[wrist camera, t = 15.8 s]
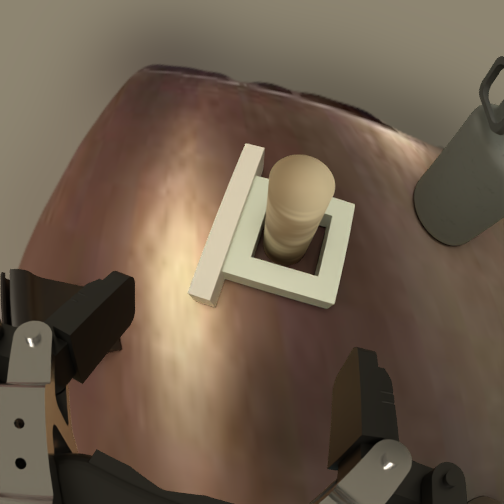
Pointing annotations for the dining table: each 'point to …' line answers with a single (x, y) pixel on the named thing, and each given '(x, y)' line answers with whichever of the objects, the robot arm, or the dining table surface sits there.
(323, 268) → the pale green square frame
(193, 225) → the dining table surface
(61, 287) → the phone stand
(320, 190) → the dowel
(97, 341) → the robot arm
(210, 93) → the dining table surface
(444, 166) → the water bottle
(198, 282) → the backstop wall
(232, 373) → the dining table surface
